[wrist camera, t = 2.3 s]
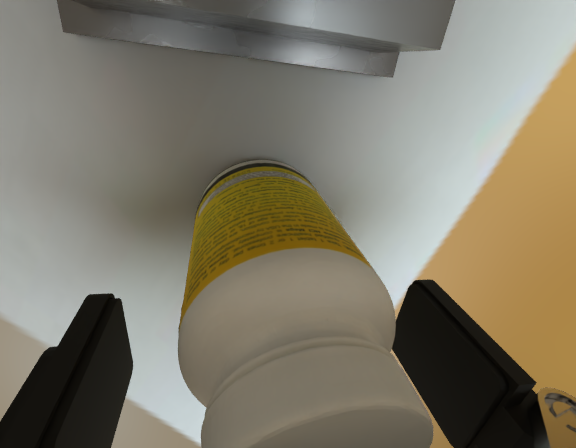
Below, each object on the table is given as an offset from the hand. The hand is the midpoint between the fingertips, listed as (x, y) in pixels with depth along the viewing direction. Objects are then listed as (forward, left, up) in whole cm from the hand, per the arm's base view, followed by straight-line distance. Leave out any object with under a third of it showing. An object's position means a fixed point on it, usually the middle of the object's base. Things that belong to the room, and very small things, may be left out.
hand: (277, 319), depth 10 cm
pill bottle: (0, 0, -7) cm, 7 cm away
